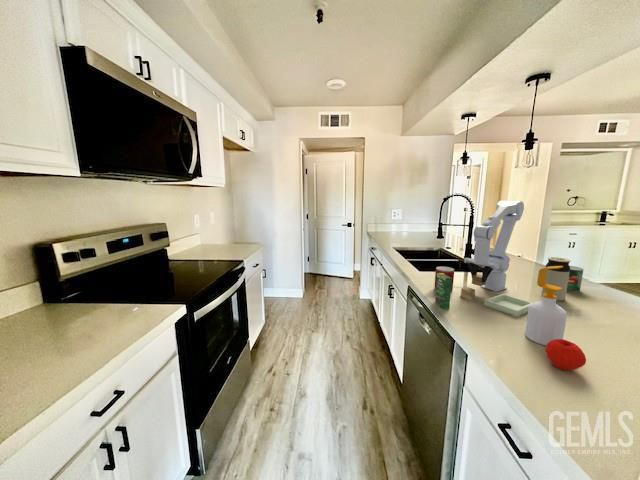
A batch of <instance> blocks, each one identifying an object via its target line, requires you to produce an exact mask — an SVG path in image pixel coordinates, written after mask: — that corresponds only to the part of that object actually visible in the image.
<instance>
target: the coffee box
mask: <svg viewBox="0 0 640 480" xmlns="http://www.w3.org/2000/svg"><path fill="white" fill-rule="evenodd" d="M451 281H452V278H450V277H448V276H447V275H445V274H443V273H437V280H436V290H435V297H434V298H435V299H434V300H435V303H436V304H437V305H439V306H440V308H442V309H443V310H448V309H450V304H451V303H450V302H451V295H452V294H451V293H452V292H451Z"/></svg>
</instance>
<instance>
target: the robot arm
mask: <svg viewBox="0 0 640 480" xmlns="http://www.w3.org/2000/svg"><path fill="white" fill-rule="evenodd" d="M524 209H525V204H524V202H523V201H522V200H516V201H515V200H499V201H498V202H497V204H496V209H495V212H494V213H493V215H489V216H488V217H487V218H486V219H485V220H484V221H483V223H481V225H478V226H477V225H476V226H475V227H474V230H473V237H474V239H473V241H474V242H475V245H474V253H473V254H474V256H473V258H470V257H465V258H464V260H463V261H464V263H465V264H466V263H468V264H467V267H468V269H469V271H470V275H471V276H472V275H476V274H478V270H479V266H480V267H481V272H482V273H481V275H482V282H483V283H484V282H486V283H485V285H482V286H479V287H480V288H483V289H487V290H490V291H494V292H500V291H503V290H506V289H508V287H506V283H507V273H506V272H507V271H508V270H509V269H510V268H509V267H510V261H511V259H510V256H509V255H508V254H507V253H506V251H507V249H508V247H509V246H508V245H509V243H510V240H511V236H512V234H513V231H514V228H515V226H516V223H517V222H518V221H520V220H521V218H522V216H523V213H524ZM502 221H503V222H502ZM501 223H502V224H501ZM500 224H501V228H500V229H499V230H500V231H499V233H498V237H497V239H496V240H495V244H494V246H493V247H494V248H493V249H492V250H491V241H492V239H493V238H494V235H495V234H496V230H497V229H498V227H499V226H500Z"/></svg>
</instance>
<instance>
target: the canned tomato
mask: <svg viewBox="0 0 640 480" xmlns="http://www.w3.org/2000/svg"><path fill="white" fill-rule="evenodd" d="M569 266H570V272H569V278H568V284H567V290H566V292H571V293H580V292H581V289H582V288H581V287H582V282H583V281H582V280H583V276H584V268H583V267H579V266H574V265H569Z"/></svg>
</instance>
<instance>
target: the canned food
mask: <svg viewBox="0 0 640 480" xmlns="http://www.w3.org/2000/svg"><path fill="white" fill-rule="evenodd" d="M437 273H443V274H445V275H447V276H448V277H450V278H452V281H451V293H452V292H453V289H454V279H455V269H454V268H453V267H449V266H442V265H441V266H436V268H435V274H434V275H435V276H434V290H435V291H436V280H437Z"/></svg>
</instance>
